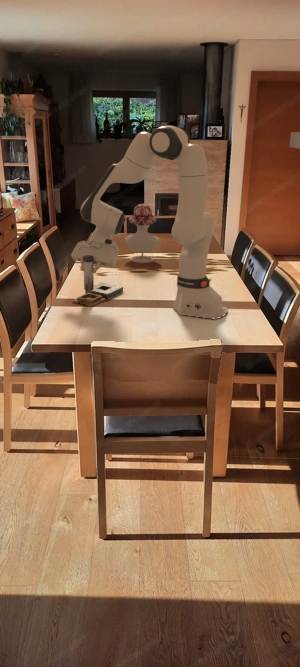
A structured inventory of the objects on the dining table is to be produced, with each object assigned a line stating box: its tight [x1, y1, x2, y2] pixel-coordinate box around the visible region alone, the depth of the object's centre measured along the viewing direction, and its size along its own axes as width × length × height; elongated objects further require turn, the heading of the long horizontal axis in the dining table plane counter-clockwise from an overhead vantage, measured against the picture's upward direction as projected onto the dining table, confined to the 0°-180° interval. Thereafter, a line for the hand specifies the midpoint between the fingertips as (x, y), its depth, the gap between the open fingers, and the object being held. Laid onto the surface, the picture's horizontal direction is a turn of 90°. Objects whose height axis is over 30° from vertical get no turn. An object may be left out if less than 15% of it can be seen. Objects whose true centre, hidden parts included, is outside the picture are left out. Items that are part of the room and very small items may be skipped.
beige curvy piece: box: [124, 203, 161, 264], centre depth 275 cm, size 19×18×30 cm
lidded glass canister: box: [83, 255, 95, 291], centre depth 210 cm, size 4×4×14 cm
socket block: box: [84, 282, 124, 300], centre depth 224 cm, size 12×12×2 cm
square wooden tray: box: [72, 293, 107, 307], centre depth 214 cm, size 10×10×2 cm
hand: (87, 271), depth 209 cm, fingers closed on lidded glass canister, 4 cm apart
